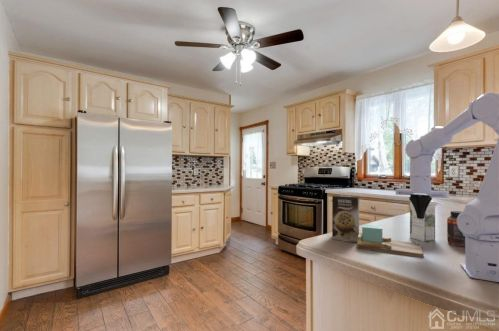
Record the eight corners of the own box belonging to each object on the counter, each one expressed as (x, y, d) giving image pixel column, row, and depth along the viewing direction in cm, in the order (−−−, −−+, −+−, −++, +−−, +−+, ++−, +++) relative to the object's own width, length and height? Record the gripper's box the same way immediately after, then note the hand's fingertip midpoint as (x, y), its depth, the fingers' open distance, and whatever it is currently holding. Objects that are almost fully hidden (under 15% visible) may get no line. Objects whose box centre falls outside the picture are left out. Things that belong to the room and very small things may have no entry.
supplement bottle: (474, 247, 83) (473, 213, 83) (453, 246, 84) (453, 212, 84) (462, 242, 89) (462, 210, 89) (443, 241, 90) (443, 209, 90)
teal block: (382, 245, 82) (382, 229, 82) (362, 243, 85) (362, 227, 85) (381, 242, 86) (381, 226, 86) (362, 240, 89) (362, 224, 89)
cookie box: (331, 239, 93) (331, 195, 93) (334, 235, 99) (334, 194, 99) (358, 242, 89) (358, 197, 89) (359, 238, 95) (359, 195, 95)
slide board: (423, 257, 74) (423, 245, 74) (357, 248, 83) (357, 237, 83) (419, 246, 85) (419, 236, 85) (360, 239, 93) (360, 229, 93)
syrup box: (420, 236, 97) (419, 198, 97) (436, 240, 91) (435, 200, 92) (409, 237, 95) (409, 199, 95) (425, 242, 89) (424, 201, 90)
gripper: (391, 176, 86) (391, 216, 86) (443, 177, 74) (444, 223, 74) (400, 176, 90) (400, 214, 90) (450, 177, 79) (451, 220, 79)
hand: (420, 218), depth 82 cm, fingers closed
